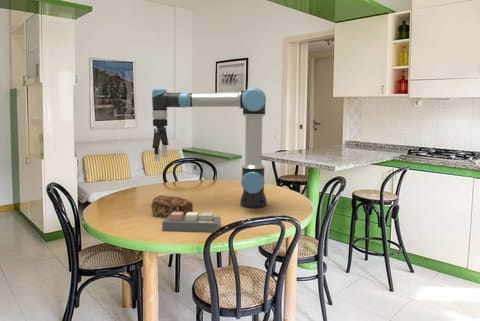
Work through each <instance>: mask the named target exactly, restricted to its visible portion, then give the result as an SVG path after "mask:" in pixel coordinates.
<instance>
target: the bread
mask: <svg viewBox="0 0 480 321" xmlns="http://www.w3.org/2000/svg"><path fill="white" fill-rule="evenodd" d="M193 204H194V203H193V202H191V201H190V200H189V199H188V198H183V197H180V196H173V195H171V196H170V195H169V196H168V195H158V196H156V197H154V198H153V200H152V202H151V212H152V215H153V216H154V217H160V218H165V219H166V218H167V217H168V215H170V214H171V213H172V212H184V216H185V215H186V214H187V213H188V212H194V211H193V207H194V205H193Z"/></svg>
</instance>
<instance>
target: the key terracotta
mask: <svg viewBox="0 0 480 321" xmlns="http://www.w3.org/2000/svg"><path fill="white" fill-rule="evenodd" d="M183 219H184V212H172V213H171V214H170V221H182V220H183Z"/></svg>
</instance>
